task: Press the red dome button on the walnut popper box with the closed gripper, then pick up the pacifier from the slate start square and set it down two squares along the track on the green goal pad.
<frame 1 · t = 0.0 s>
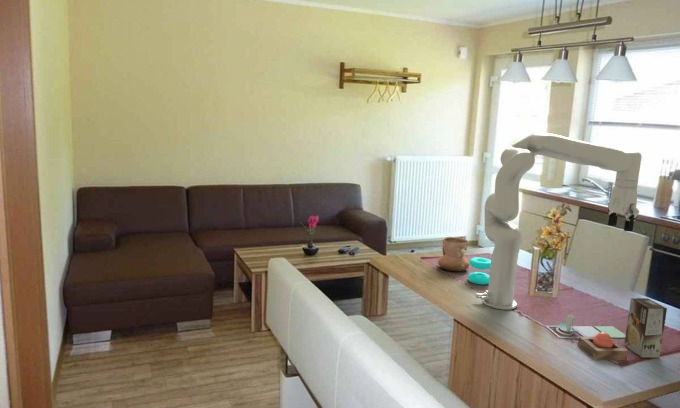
hand: (619, 228, 199), 31 cm above the table, tool pointing down, fingers open, 9 cm apart
start square: (565, 332, 175), on the table
mid pad: (589, 332, 176), on the table
popper button: (603, 339, 160), point 4 cm above the table, slide at 0.0 cm
pacifier: (565, 333, 176), on the table
goal pad: (611, 332, 177), on the table
donuts: (479, 282, 226), on the table
ceramic jug: (452, 269, 244), on the table
coffee box: (641, 351, 164), on the table
popper box: (601, 352, 161), on the table
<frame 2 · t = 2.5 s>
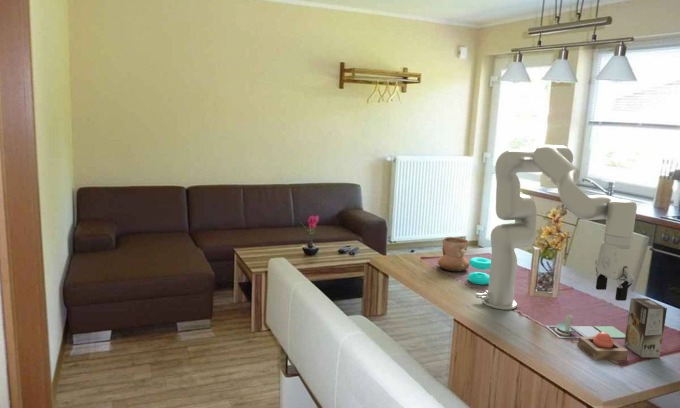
hand: (610, 294, 159), 19 cm above the table, tool pointing down, fingers open, 9 cm apart
nothing on the table moved.
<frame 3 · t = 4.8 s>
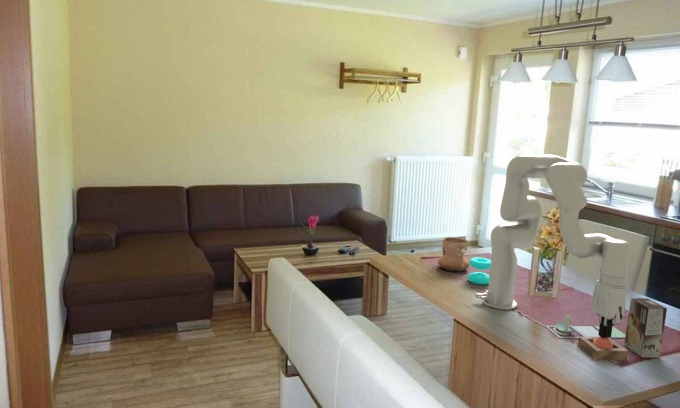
hand: (604, 336, 160), 5 cm above the table, tool pointing down, fingers closed
popper button: (602, 343, 161), point 3 cm above the table, slide at 1.2 cm, touching gripper
everything else where it was.
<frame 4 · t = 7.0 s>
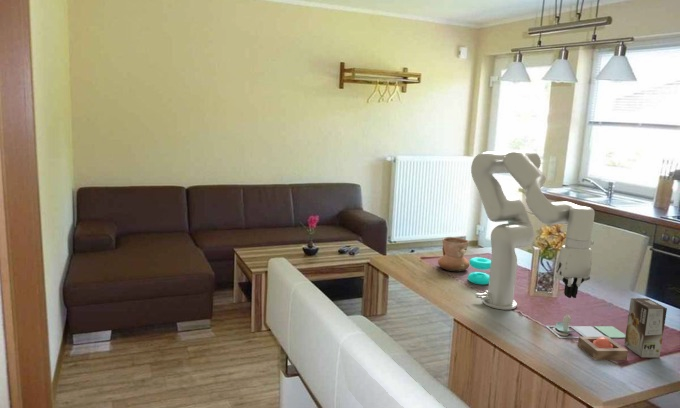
hand: (570, 296, 173), 13 cm above the table, tool pointing down, fingers closed
popper button: (602, 344, 161), point 3 cm above the table, slide at 1.7 cm
pacifier: (562, 333, 175), on the table, touching start square
everything else where it was.
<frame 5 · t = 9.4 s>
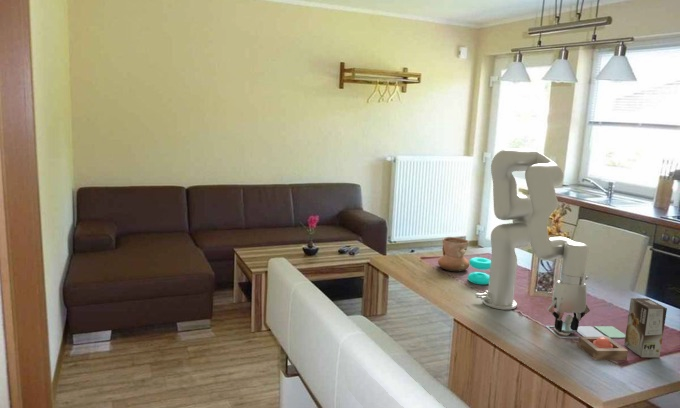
hand: (565, 329, 175), 1 cm above the table, tool pointing down, fingers closed on pacifier, 4 cm apart
pacifier: (563, 332, 176), on the table, touching gripper
everything else where it was.
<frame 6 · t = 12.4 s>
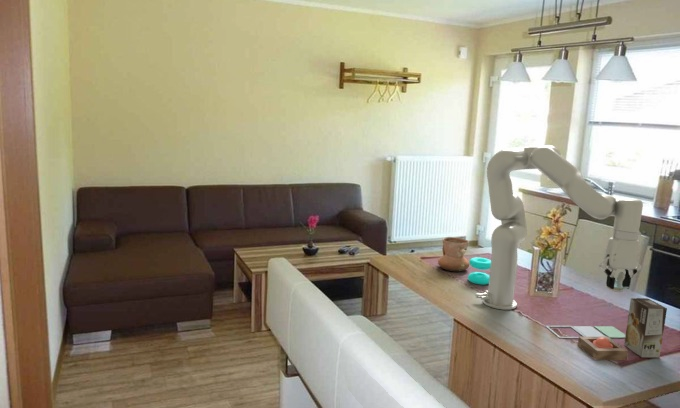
hand: (617, 287, 174), 16 cm above the table, tool pointing down, fingers closed on pacifier, 4 cm apart
pacifier: (615, 290, 175), point 15 cm above the table, touching gripper
everything else where it was.
when the fingers open (3 cm above the table, at t = 15.1 s): pacifier drops 1 cm, resting on goal pad.
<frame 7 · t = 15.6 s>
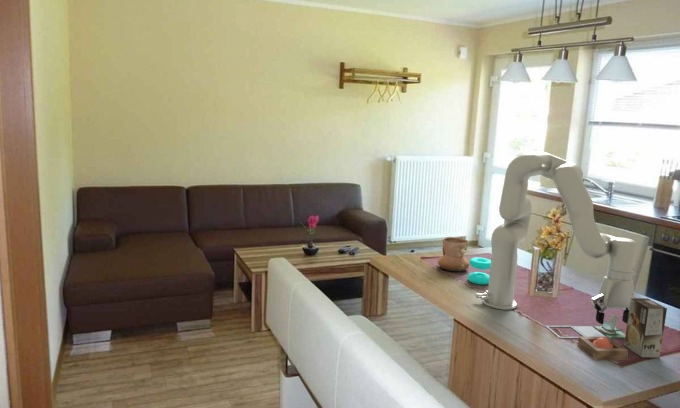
hand: (612, 322, 177), 4 cm above the table, tool pointing down, fingers open, 9 cm apart
pacifier: (609, 332, 177), resting on goal pad
everything else where it was.
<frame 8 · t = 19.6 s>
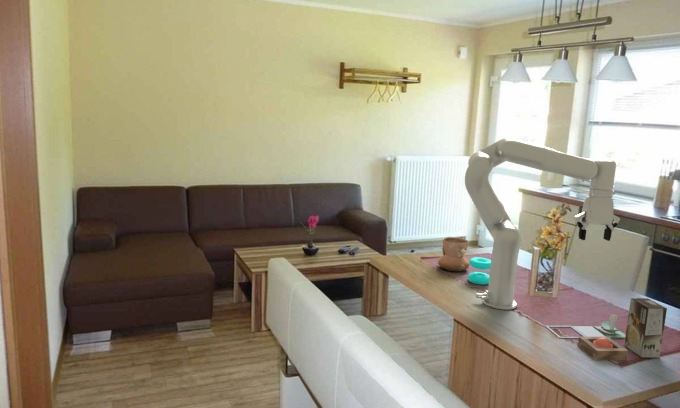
hand: (594, 239, 190), 28 cm above the table, tool pointing down, fingers open, 9 cm apart
nothing on the table moved.
at the end: popper button slide at 1.7 cm; pacifier inside the target area on the goal pad (1.0 cm from its centre), point 0.1 cm above the goal pad's base; the gripper is holding nothing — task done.
